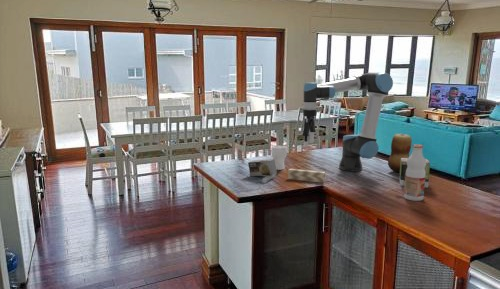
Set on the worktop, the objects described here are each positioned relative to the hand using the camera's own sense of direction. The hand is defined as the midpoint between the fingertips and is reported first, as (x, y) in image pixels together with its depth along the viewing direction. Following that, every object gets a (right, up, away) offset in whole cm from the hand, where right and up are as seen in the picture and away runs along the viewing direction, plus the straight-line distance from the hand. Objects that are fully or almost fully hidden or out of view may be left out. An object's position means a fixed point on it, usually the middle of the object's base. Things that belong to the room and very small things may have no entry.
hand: (308, 144), depth 226 cm
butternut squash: (+62, -18, +22) cm, 68 cm away
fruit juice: (+50, -28, -29) cm, 64 cm away
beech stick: (-1, -22, +4) cm, 22 cm away
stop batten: (-23, -21, +7) cm, 32 cm away
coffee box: (-21, -14, +6) cm, 25 cm away
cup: (-16, -16, +31) cm, 39 cm away
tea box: (+60, -23, -6) cm, 64 cm away
